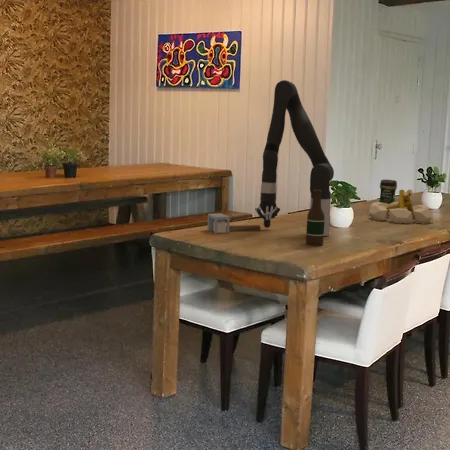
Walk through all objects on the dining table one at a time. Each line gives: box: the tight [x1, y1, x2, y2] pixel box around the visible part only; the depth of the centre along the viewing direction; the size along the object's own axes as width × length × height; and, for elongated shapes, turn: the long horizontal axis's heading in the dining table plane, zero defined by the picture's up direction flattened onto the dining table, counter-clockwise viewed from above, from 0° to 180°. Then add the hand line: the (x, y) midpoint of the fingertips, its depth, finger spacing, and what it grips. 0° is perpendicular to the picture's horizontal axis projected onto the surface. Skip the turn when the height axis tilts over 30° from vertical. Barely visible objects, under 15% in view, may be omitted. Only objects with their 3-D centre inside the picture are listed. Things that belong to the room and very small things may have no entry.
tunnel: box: [206, 212, 231, 234], centre depth 317 cm, size 10×7×8 cm
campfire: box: [368, 189, 434, 224], centre depth 374 cm, size 35×34×17 cm
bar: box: [226, 224, 261, 232], centre depth 323 cm, size 3×17×3 cm, turn 107°
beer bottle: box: [305, 189, 325, 247], centre depth 294 cm, size 8×8×24 cm
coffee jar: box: [378, 179, 398, 204], centre depth 402 cm, size 10×8×19 cm
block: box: [212, 220, 227, 234], centre depth 318 cm, size 4×4×4 cm
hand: (266, 227), depth 328 cm, fingers closed
